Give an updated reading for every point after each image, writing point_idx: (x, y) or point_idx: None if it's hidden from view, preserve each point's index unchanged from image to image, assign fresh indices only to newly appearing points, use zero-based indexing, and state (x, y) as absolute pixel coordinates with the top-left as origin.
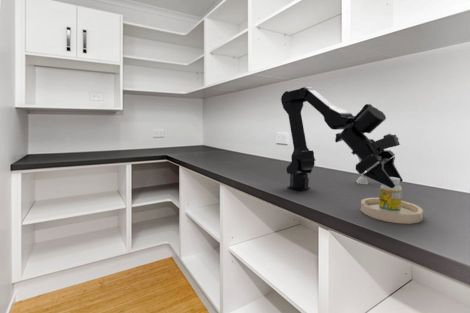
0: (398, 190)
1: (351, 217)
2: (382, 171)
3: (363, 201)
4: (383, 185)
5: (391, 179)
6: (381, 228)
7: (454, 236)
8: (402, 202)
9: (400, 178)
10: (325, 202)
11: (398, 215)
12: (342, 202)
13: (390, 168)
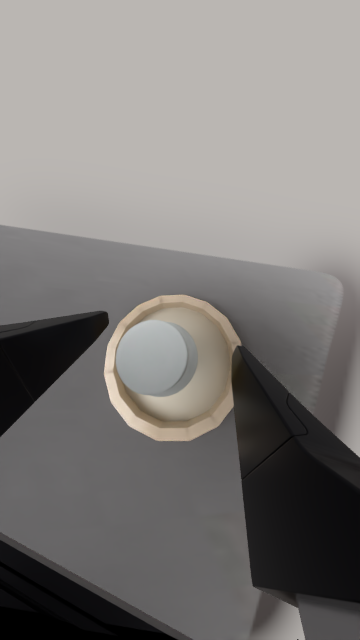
0: (189, 334)
1: None
2: (338, 448)
3: (169, 433)
4: (175, 387)
5: (187, 358)
6: (290, 378)
7: (244, 271)
8: (126, 327)
9: (98, 316)
10: (155, 570)
11: (239, 343)
12: (130, 494)
13: (22, 358)
